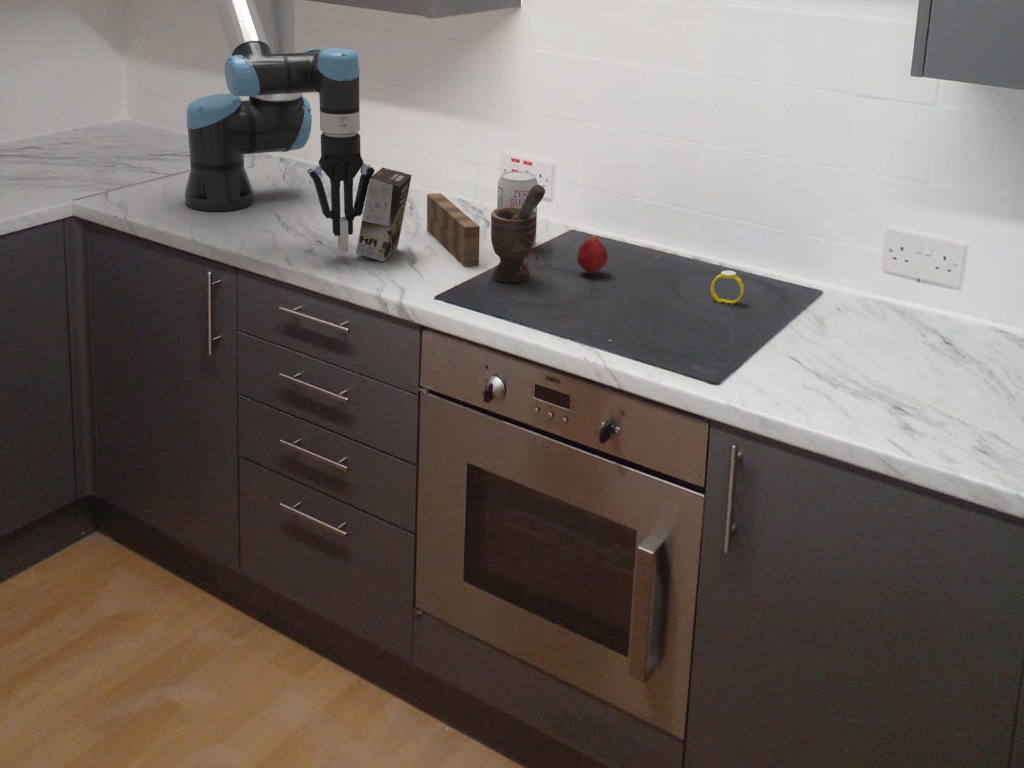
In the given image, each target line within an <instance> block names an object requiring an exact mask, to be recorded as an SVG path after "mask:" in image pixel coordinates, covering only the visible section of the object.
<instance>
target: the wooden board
mask: <svg viewBox="0 0 1024 768" xmlns="http://www.w3.org/2000/svg"><path fill="white" fill-rule="evenodd" d="M426 195H427V196H426V204H427V205H426V231H427V232H428V233H429V235H431V236H432V237H433V238H434V239H435V240H436V241H437V242H438V243H439V244H440V245H441V246H442V247H444V248H445V250H446V251H448V253H450V254H451V255H452V256H453V257H454V258H455V259H456V260H457V261H458V263H460V264H461V265H462V266H463V267H474V266H475V267H477V266H479V265H480V263H479V262H480V236H481V235H480V225H479V224H477V223H476V222H475V221H474V220H473V219H471V218H470V217H469V216H468V215H466V214H465V212H463V211H462V210H461V209H460V208H459V207H458V206H456V205H455V203H453V202H452V201H451V200H449V199H448V198H447V197H446V196H445V195H443V194H442V193H441V192H440V193H439V192H437V193H427V194H426Z"/></svg>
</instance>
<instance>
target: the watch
mask: <svg viewBox="0 0 1024 768" xmlns="http://www.w3.org/2000/svg"><path fill="white" fill-rule="evenodd" d="M721 278H724V279H728V280H729V279H734V280H735V282H737V284H738V286H739V287H740V289H739V290H740V293H739V296H738V297H737V298H735V299H733V300H730V299H724V298H720V297H719V296H718V295H717V294H716V291H715V285H716V281H717V280H718V279H721ZM744 291H745V286H744V283H743V281H742V279H741V278H740V277H739V276H738V275H737V273H736V272H735V271H734V270H723V271H721V273H720V274H718V275H716V277H715V278H714V279H713V280H712V281H711V283H710V293H711V296H712V298H713V299H714V300H715V301H716V302H717V303H721V302H725V303H724V304H727V303H731V304H730V305H733V304H732V303H734V304H736V303H738V302H739V301H740V299H741V298H742V297H743V295H744Z"/></svg>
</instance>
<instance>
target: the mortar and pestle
mask: <svg viewBox="0 0 1024 768" xmlns="http://www.w3.org/2000/svg"><path fill="white" fill-rule="evenodd" d="M545 193H546V189H545V187H544V186H542V185H540V184H538V185H535V186H533V187H532V188H531V190H530V191H529V193H528V195H527V197H526V199H525V201H524V203H523V205H522V207H521V208H520V207H515V206H508V207H501V208H497V207H496V208H495V209H493V210H492V211H491V213H490V214H491V215H490V225H491V226H490V240H491V244H492V248H493V249H492V250H493V252H494V254H495V255H497V257H498V258H499V261H500V262H499V263H498V264H497V265H496V266H495V267H494V269H493V271H492V275H491V277H492V279H493V280H495V281H497V282H499V283H506V284H507V283H509V284H524V283H527V282H529V281H530V279H531V274H530V270H529V268H528V267H527V266H526V265H525V263H524V259H526V258H527V257H528V256H529V255H530V254H531V253H532V250H533V248H534V247H533V244H534V239H535V227H536V228H537V226H536V219H537V220H538V213H537V214H536V213H535V212H534V211H533V209H534V208H535V207H536V206H537V207H538V205H539V204H540V203H541V201H542V200H543V198H544V197H545ZM532 247H533V248H532Z"/></svg>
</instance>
